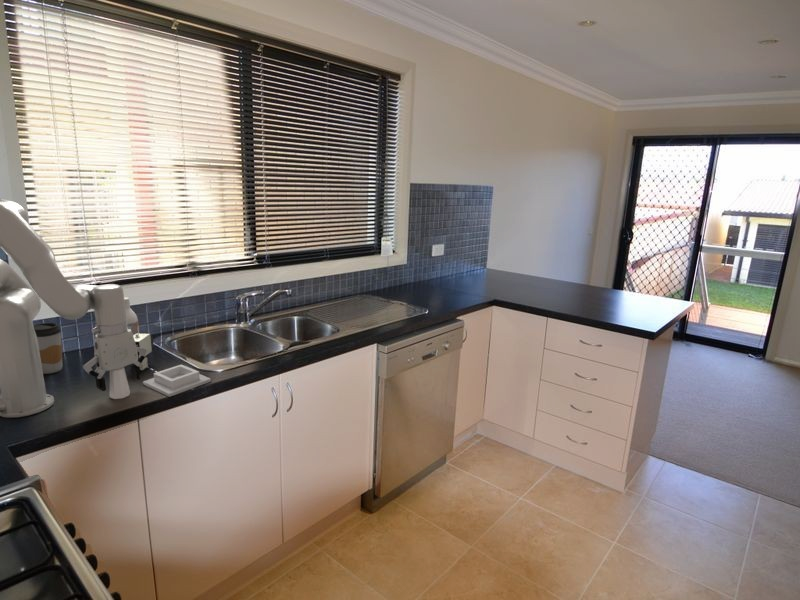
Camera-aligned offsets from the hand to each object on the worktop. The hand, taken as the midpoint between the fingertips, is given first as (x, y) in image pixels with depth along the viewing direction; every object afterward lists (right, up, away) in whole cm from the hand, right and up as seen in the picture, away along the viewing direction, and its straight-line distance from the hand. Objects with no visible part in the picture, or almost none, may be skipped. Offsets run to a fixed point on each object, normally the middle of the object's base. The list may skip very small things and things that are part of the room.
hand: (119, 384), depth 142 cm
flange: (+12, -1, +10) cm, 16 cm away
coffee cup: (-32, +2, +16) cm, 36 cm away
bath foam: (-16, +6, +34) cm, 38 cm away
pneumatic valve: (-5, +2, +20) cm, 21 cm away
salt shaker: (0, -4, +1) cm, 4 cm away
